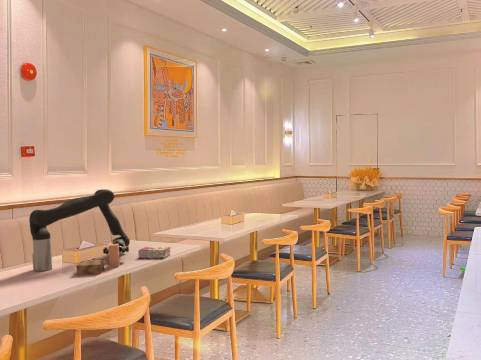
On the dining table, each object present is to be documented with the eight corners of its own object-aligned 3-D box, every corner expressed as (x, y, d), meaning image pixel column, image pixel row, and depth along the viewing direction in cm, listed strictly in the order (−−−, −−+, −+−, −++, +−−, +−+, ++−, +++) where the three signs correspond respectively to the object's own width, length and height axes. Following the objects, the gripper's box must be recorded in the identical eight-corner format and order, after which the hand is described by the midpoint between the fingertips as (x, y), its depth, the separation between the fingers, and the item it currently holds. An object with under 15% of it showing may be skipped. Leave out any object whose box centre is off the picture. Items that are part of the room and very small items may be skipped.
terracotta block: (109, 267, 277) (108, 245, 276) (110, 265, 282) (109, 244, 281) (118, 266, 277) (117, 245, 277) (119, 264, 282) (118, 243, 282)
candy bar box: (145, 246, 308) (170, 246, 305) (145, 254, 309) (170, 254, 306) (138, 249, 297) (164, 250, 294) (138, 258, 298) (164, 258, 295)
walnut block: (77, 275, 260) (76, 265, 260) (81, 270, 272) (81, 261, 272) (100, 273, 262) (100, 264, 262) (104, 268, 274) (103, 259, 274)
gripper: (105, 241, 298) (101, 246, 282) (129, 240, 300) (127, 244, 284) (106, 253, 299) (102, 259, 283) (130, 252, 300) (128, 257, 284)
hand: (114, 252), depth 283 cm, fingers open, 8 cm apart
